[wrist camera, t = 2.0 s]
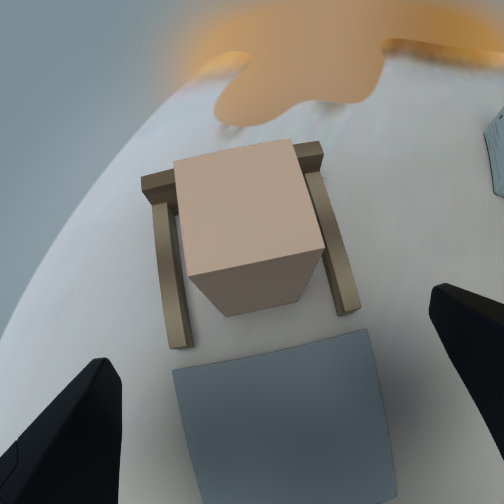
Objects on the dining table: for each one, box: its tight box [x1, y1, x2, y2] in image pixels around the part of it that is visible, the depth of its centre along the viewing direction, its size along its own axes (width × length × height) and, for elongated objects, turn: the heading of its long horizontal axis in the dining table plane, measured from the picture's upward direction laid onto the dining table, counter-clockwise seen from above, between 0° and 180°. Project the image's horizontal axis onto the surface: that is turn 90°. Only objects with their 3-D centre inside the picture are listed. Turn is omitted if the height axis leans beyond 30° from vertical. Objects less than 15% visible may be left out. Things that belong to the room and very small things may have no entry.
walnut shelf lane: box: [141, 141, 361, 350], centre depth 19 cm, size 10×11×4 cm
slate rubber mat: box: [172, 329, 397, 504], centre depth 17 cm, size 12×12×1 cm
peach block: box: [174, 139, 325, 317], centre depth 16 cm, size 4×4×10 cm
